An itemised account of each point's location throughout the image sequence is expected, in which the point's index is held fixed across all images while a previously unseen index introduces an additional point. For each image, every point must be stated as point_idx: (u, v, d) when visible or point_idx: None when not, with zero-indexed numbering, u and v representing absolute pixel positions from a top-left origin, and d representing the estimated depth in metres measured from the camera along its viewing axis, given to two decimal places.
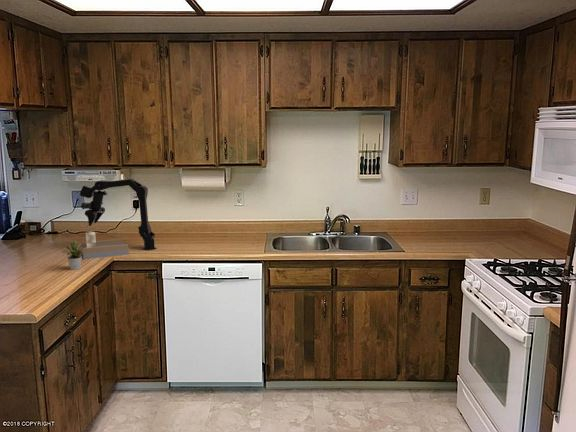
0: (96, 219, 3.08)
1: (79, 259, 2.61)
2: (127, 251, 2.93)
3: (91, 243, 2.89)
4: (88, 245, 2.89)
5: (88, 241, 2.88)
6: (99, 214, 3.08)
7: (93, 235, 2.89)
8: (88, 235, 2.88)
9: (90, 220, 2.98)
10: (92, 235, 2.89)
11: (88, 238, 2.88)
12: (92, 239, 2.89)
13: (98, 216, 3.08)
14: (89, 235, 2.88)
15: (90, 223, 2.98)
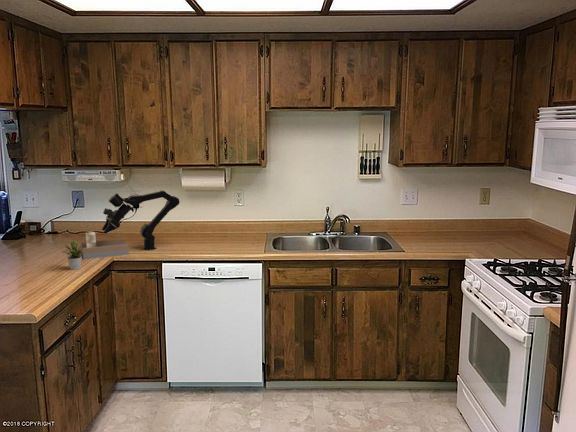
0: (105, 227, 2.98)
1: (79, 259, 2.61)
2: (127, 251, 2.93)
3: (91, 243, 2.89)
4: (88, 245, 2.89)
5: (88, 241, 2.88)
6: None
7: (93, 235, 2.89)
8: (88, 235, 2.88)
9: (108, 228, 2.89)
10: (92, 235, 2.89)
11: (88, 238, 2.88)
12: (92, 239, 2.89)
13: None
14: (89, 235, 2.88)
15: (106, 231, 2.89)
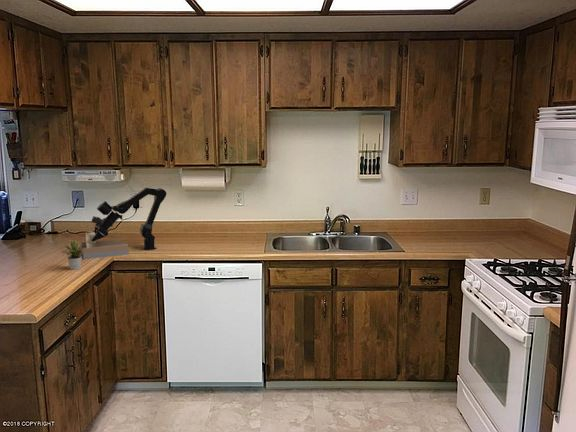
0: None
1: (79, 259, 2.61)
2: (127, 251, 2.93)
3: (91, 243, 2.89)
4: (88, 245, 2.89)
5: (88, 241, 2.88)
6: None
7: (93, 235, 2.89)
8: (88, 235, 2.88)
9: (96, 237, 2.87)
10: (92, 235, 2.89)
11: (88, 238, 2.88)
12: None
13: None
14: (89, 235, 2.88)
15: (94, 239, 2.87)
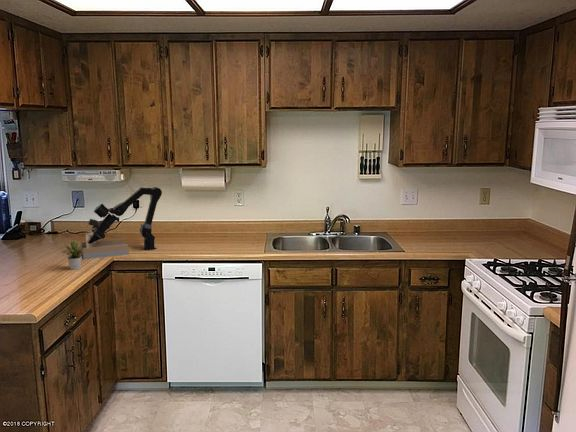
0: None
1: (79, 259, 2.61)
2: (127, 251, 2.93)
3: (91, 243, 2.89)
4: (88, 245, 2.89)
5: (88, 241, 2.88)
6: None
7: None
8: (88, 235, 2.88)
9: (93, 239, 2.88)
10: (92, 235, 2.89)
11: (88, 238, 2.88)
12: None
13: None
14: (89, 235, 2.88)
15: (91, 241, 2.88)
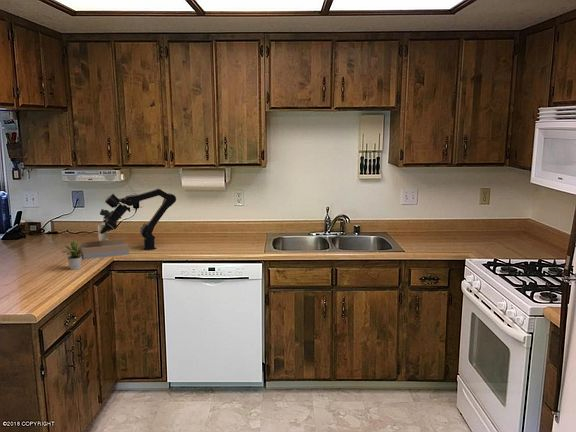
0: None
1: (79, 259, 2.61)
2: (127, 251, 2.93)
3: (103, 233, 2.91)
4: (100, 235, 2.91)
5: (100, 231, 2.90)
6: None
7: None
8: (100, 225, 2.90)
9: (105, 229, 2.90)
10: (104, 225, 2.91)
11: (100, 228, 2.90)
12: None
13: None
14: (101, 225, 2.90)
15: (103, 231, 2.90)
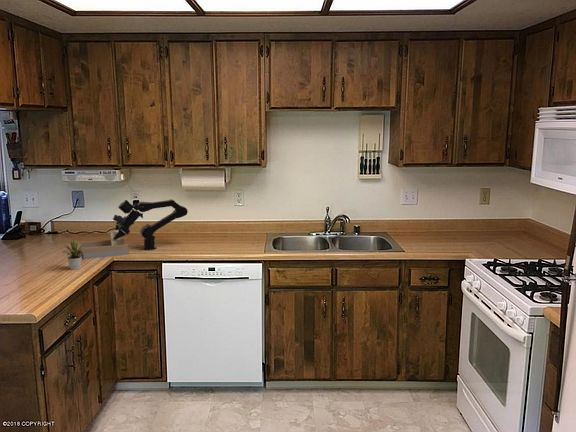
0: None
1: (79, 259, 2.61)
2: (127, 251, 2.93)
3: (116, 241, 2.95)
4: (113, 242, 2.95)
5: (113, 239, 2.94)
6: None
7: None
8: (113, 233, 2.94)
9: (118, 235, 2.92)
10: None
11: (113, 236, 2.94)
12: None
13: None
14: (114, 233, 2.94)
15: (116, 237, 2.92)
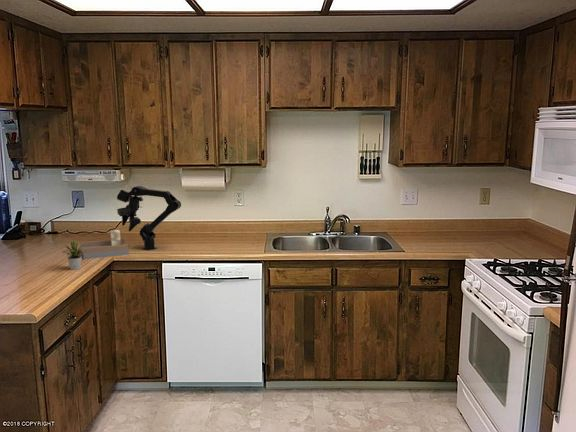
0: (124, 221, 3.10)
1: (79, 259, 2.61)
2: (127, 251, 2.93)
3: (116, 241, 2.95)
4: (113, 242, 2.95)
5: (113, 239, 2.94)
6: (127, 216, 3.10)
7: (118, 233, 2.95)
8: (113, 233, 2.94)
9: (132, 226, 3.02)
10: (117, 233, 2.95)
11: (113, 236, 2.94)
12: (117, 237, 2.95)
13: (126, 218, 3.10)
14: (114, 233, 2.94)
15: (131, 229, 3.03)
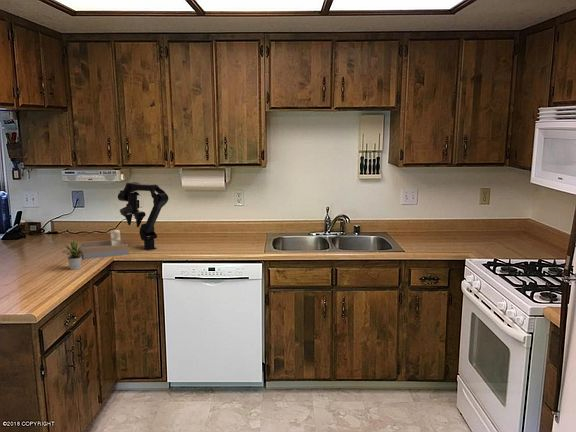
0: (129, 221, 3.14)
1: (79, 259, 2.61)
2: (127, 251, 2.93)
3: (116, 241, 2.95)
4: (113, 242, 2.95)
5: (113, 239, 2.94)
6: (130, 215, 3.15)
7: (118, 233, 2.95)
8: (113, 233, 2.94)
9: (138, 221, 3.08)
10: (117, 233, 2.95)
11: (113, 236, 2.94)
12: (117, 237, 2.95)
13: (130, 218, 3.15)
14: (114, 233, 2.94)
15: (138, 224, 3.08)
